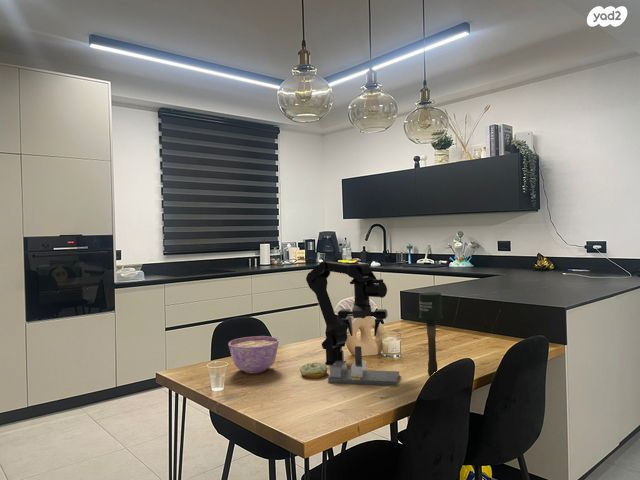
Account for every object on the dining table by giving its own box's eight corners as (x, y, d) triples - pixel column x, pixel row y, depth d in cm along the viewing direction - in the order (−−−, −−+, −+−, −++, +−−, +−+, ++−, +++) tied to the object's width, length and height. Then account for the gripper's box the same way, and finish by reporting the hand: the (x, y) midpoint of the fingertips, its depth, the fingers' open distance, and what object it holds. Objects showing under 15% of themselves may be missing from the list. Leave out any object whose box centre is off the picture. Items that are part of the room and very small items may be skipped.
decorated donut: (300, 380, 174) (299, 370, 174) (299, 371, 185) (299, 362, 185) (328, 378, 175) (328, 368, 175) (326, 370, 186) (325, 360, 186)
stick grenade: (418, 372, 177) (415, 292, 177) (440, 371, 178) (437, 291, 178) (425, 379, 169) (421, 295, 168) (448, 377, 169) (445, 294, 169)
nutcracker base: (328, 382, 169) (327, 368, 169) (336, 372, 181) (335, 359, 181) (395, 385, 163) (395, 371, 163) (399, 375, 174) (398, 361, 174)
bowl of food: (219, 376, 183) (218, 346, 182) (245, 362, 201) (244, 335, 201) (266, 379, 176) (264, 348, 176) (288, 365, 195) (286, 337, 194)
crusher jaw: (351, 377, 169) (350, 349, 169) (355, 371, 177) (354, 344, 177) (362, 378, 168) (361, 349, 168) (366, 371, 176) (365, 344, 176)
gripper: (333, 299, 178) (335, 340, 178) (383, 298, 173) (384, 341, 174) (340, 295, 189) (341, 334, 189) (386, 294, 184) (388, 334, 184)
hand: (363, 336), depth 184 cm, fingers open, 9 cm apart
